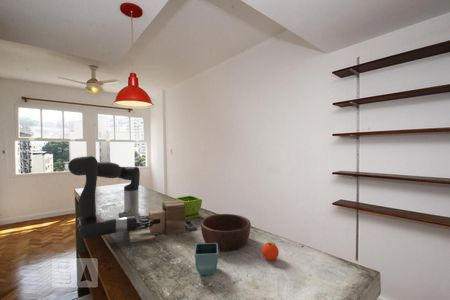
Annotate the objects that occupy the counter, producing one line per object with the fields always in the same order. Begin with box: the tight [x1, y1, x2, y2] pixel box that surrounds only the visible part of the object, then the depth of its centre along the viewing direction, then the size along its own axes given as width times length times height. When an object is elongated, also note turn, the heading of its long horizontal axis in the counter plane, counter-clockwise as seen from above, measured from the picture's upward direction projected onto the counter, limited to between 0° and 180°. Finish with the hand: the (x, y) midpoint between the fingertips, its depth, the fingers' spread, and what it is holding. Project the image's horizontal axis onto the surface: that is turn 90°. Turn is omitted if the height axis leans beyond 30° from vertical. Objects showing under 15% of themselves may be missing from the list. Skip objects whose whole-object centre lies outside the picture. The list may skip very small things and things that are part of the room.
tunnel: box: [161, 199, 186, 236], centre depth 122 cm, size 12×10×16 cm
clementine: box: [261, 241, 280, 261], centre depth 91 cm, size 8×7×7 cm
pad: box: [128, 228, 156, 243], centre depth 114 cm, size 14×12×1 cm
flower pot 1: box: [174, 195, 203, 221], centre depth 143 cm, size 14×14×13 cm
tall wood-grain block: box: [148, 209, 166, 235], centre depth 119 cm, size 7×15×11 cm, turn 117°
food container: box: [118, 207, 137, 218], centre depth 125 cm, size 12×6×10 cm, turn 168°
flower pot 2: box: [194, 243, 219, 276], centre depth 82 cm, size 9×9×9 cm
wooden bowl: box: [200, 213, 252, 252], centre depth 107 cm, size 25×25×10 cm
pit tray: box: [185, 219, 198, 232], centre depth 126 cm, size 12×5×2 cm, turn 27°
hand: (159, 219), depth 118 cm, fingers closed on tall wood-grain block, 5 cm apart
